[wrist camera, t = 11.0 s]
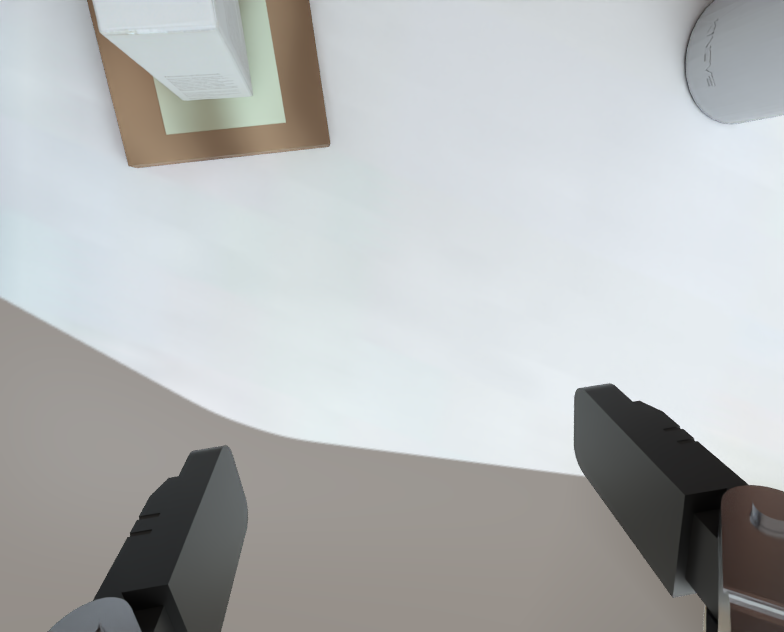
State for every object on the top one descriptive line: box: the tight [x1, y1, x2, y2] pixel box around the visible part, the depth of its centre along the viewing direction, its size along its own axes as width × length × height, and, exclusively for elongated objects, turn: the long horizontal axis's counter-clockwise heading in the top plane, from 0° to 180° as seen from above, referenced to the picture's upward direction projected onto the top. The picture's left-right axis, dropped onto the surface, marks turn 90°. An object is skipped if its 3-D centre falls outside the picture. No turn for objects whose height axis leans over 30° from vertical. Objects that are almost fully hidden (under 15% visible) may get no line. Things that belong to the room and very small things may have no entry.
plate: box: [87, 0, 330, 168], centre depth 28 cm, size 12×12×2 cm
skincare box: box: [92, 0, 253, 101], centre depth 21 cm, size 6×4×12 cm
